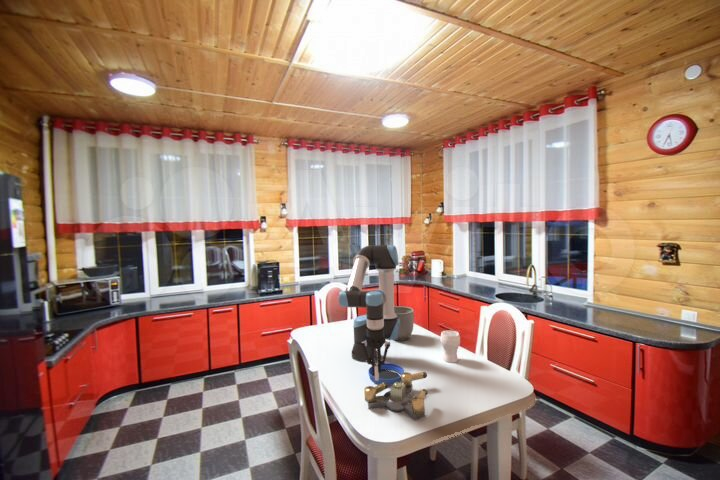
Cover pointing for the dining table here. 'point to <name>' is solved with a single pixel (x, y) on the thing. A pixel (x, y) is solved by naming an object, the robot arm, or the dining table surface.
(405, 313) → the planter
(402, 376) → the brass tap handle
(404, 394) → the tribrach
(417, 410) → the brass lever handle
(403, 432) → the dining table surface
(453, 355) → the cup
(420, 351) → the dining table surface
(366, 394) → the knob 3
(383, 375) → the bowl
